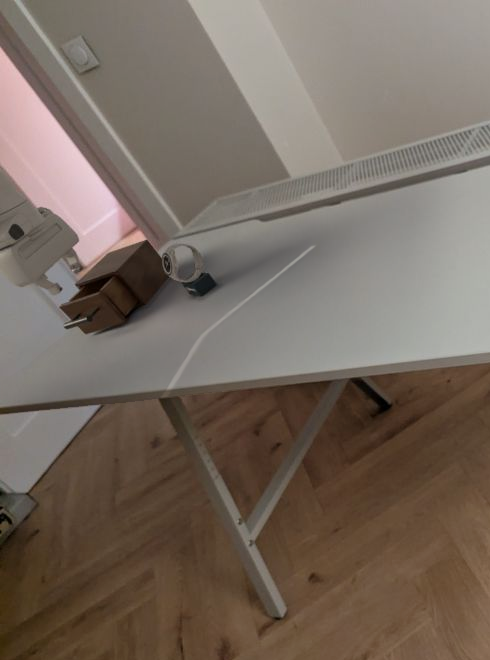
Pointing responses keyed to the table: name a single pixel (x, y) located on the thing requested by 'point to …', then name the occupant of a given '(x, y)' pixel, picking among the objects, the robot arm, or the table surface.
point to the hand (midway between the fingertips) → (69, 281)
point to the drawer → (99, 305)
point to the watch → (197, 281)
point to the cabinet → (131, 270)
